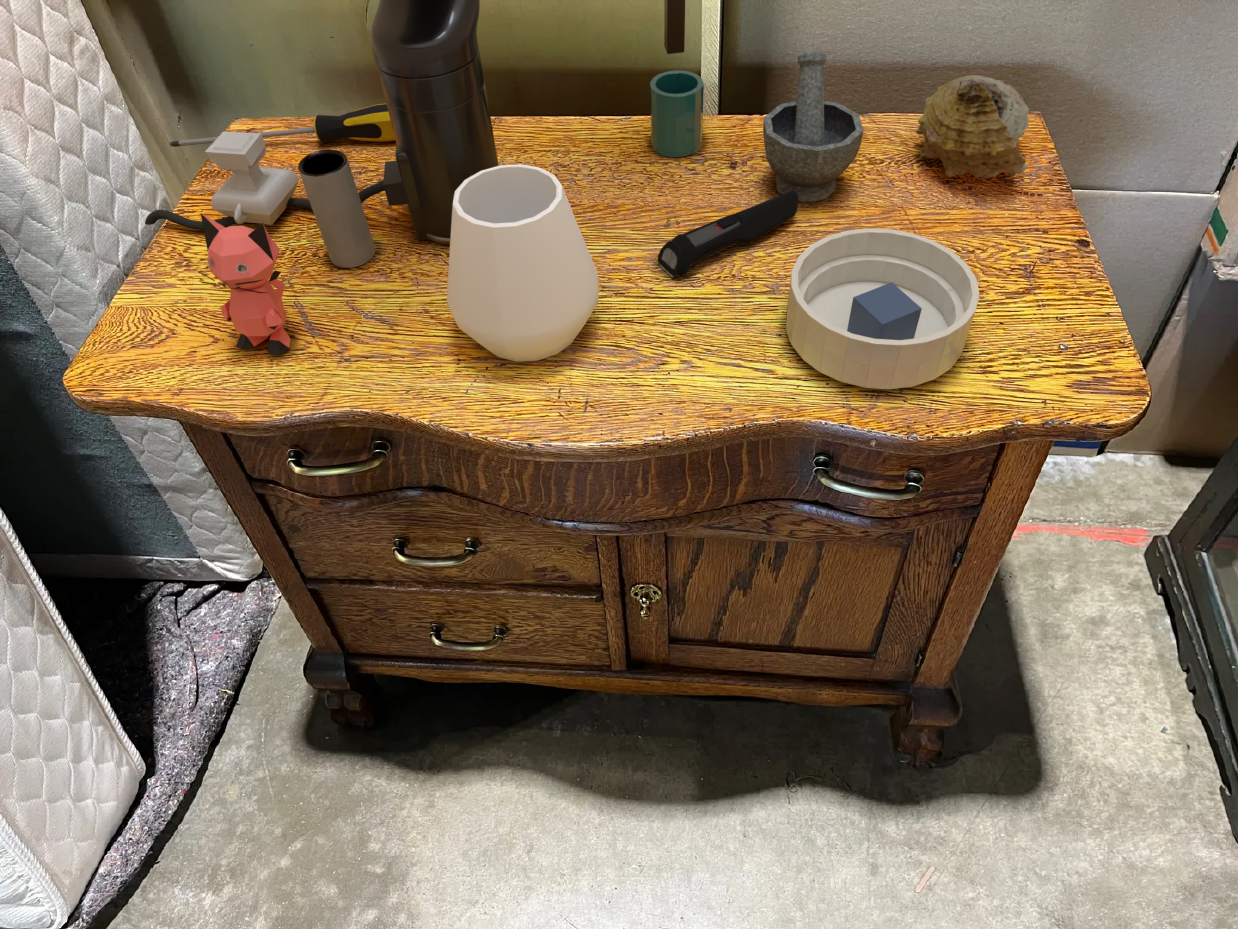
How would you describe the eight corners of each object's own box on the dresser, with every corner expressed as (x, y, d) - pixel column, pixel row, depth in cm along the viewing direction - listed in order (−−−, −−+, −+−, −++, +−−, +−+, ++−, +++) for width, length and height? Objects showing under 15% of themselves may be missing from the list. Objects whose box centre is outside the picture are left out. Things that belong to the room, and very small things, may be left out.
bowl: (809, 404, 74) (817, 354, 70) (768, 287, 84) (773, 238, 80) (990, 382, 75) (1008, 332, 71) (928, 269, 85) (941, 219, 81)
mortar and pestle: (858, 211, 91) (878, 97, 82) (764, 214, 92) (773, 101, 83) (842, 150, 98) (859, 40, 89) (755, 153, 99) (763, 43, 90)
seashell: (997, 30, 93) (918, 94, 101) (966, 81, 84) (882, 147, 92) (1062, 113, 95) (980, 169, 103) (1038, 171, 86) (950, 229, 94)
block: (874, 360, 76) (882, 324, 73) (846, 332, 79) (852, 296, 76) (912, 344, 77) (922, 308, 74) (883, 317, 80) (891, 281, 77)
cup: (615, 285, 86) (606, 151, 75) (586, 385, 77) (572, 250, 66) (478, 275, 88) (451, 143, 77) (436, 371, 79) (399, 238, 68)
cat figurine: (212, 353, 81) (167, 230, 73) (256, 313, 86) (219, 194, 78) (281, 367, 79) (244, 242, 71) (322, 325, 84) (291, 205, 76)
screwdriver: (428, 125, 106) (180, 149, 108) (420, 97, 103) (166, 123, 105) (424, 140, 103) (171, 165, 105) (416, 112, 101) (157, 138, 103)
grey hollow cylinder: (383, 244, 92) (356, 152, 84) (361, 271, 89) (331, 178, 81) (344, 237, 93) (314, 145, 85) (321, 264, 90) (287, 171, 82)
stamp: (273, 242, 93) (242, 168, 86) (215, 235, 94) (181, 162, 88) (311, 192, 98) (286, 119, 92) (256, 187, 100) (227, 115, 93)
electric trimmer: (805, 226, 90) (809, 198, 88) (677, 282, 85) (677, 254, 83) (781, 208, 92) (784, 181, 90) (654, 262, 88) (654, 234, 85)
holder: (655, 159, 99) (654, 98, 94) (648, 133, 103) (646, 73, 97) (706, 154, 99) (707, 93, 94) (697, 127, 103) (698, 67, 98)
